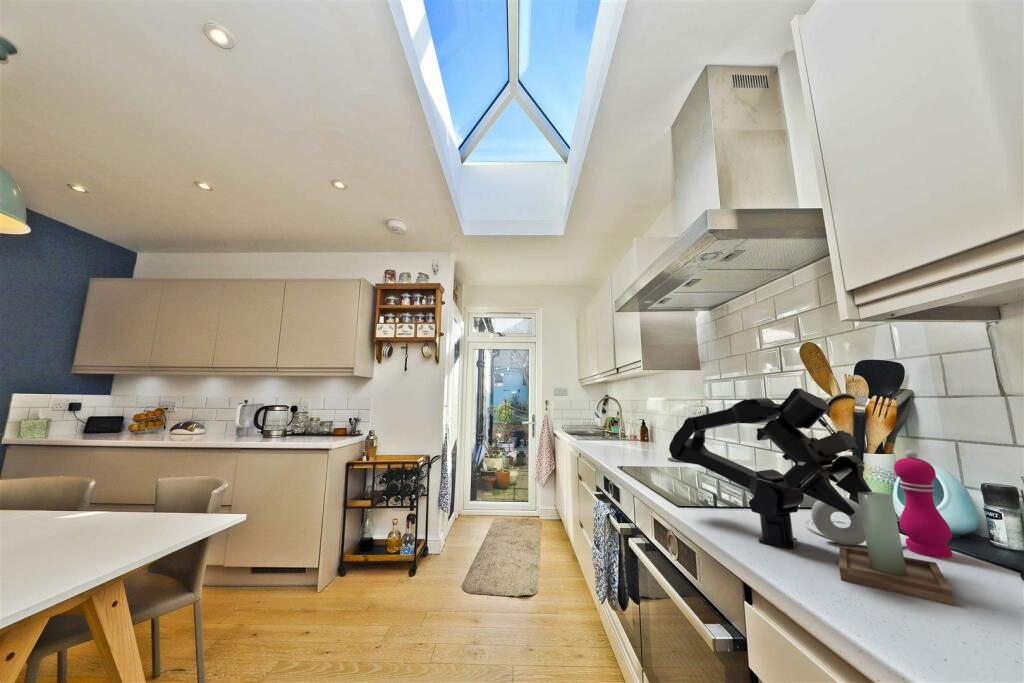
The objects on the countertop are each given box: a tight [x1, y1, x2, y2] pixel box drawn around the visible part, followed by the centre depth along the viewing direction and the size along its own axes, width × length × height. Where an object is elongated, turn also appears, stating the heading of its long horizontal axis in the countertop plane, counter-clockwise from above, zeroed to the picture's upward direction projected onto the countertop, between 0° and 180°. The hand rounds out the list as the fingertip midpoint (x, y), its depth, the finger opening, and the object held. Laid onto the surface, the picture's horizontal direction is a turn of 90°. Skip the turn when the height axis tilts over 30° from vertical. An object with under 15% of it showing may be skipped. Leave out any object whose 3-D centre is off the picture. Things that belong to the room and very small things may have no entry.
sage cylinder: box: [857, 491, 907, 575], centre depth 67 cm, size 5×5×12 cm
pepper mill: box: [893, 449, 953, 559], centre depth 78 cm, size 7×7×20 cm
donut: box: [810, 496, 866, 546], centre depth 81 cm, size 10×4×10 cm, turn 51°
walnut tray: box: [838, 545, 955, 606], centre depth 66 cm, size 13×13×2 cm
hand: (866, 510), depth 69 cm, fingers open, 9 cm apart
